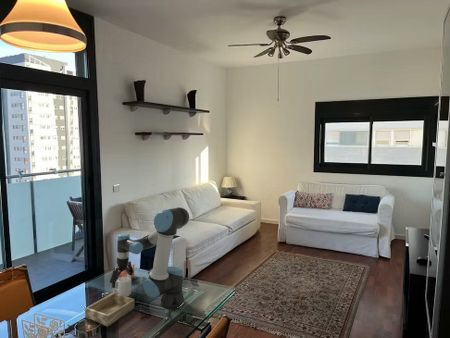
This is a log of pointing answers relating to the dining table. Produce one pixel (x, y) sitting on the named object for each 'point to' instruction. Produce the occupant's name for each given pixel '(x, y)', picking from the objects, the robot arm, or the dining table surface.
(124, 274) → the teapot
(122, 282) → the cup
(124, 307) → the wooden tray
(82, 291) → the dining table surface
